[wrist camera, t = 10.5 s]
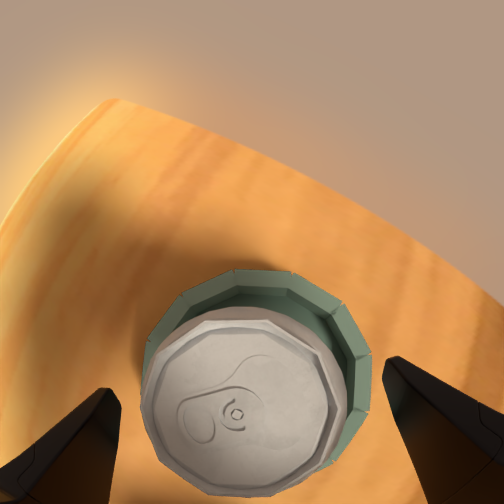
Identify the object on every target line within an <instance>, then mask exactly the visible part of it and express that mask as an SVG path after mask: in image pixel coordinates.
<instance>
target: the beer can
mask: <svg viewBox="0 0 504 504" xmlns="http://www.w3.org/2000/svg"><path fill="white" fill-rule="evenodd" d="M140 410H141V413H142V417H143V421H144V426H145V429H146V431H147V433H148V436H149V438H150V440H151V442H152V444H153V447H154V449H155V452H156V454H157V457H158V459H159V461H160V462H161V463H163V464H164V465H165V466H167V467H168V468H169V469H171V470H172V471H173V472H175V473H176V474H178V475H179V476H180V477H182V478H183V479H184V480H186V481H187V482H189V483H191V484H192V485H194V486H195V487H197V488H198V489H200V490H201V491H203V492H204V493H206V494H208V495H214V496H230V497H245V498H251V497H271V496H273V495H275V494H276V493H279V492H281V491H284V490H286V489H288V488H291V487H293V486H295V485H297V484H300V483H301V482H303V481H304V480H305V479H307V478H308V477H309V476H311V475H312V474H313V473H314V472H315V471H317V470H318V469H319V468H320V467H321V466H322V465H323V464H324V463H325V462H326V461H327V460H328V458H329V457H330V455H331V454H332V452H333V451H334V449H335V448H336V446H337V444H338V442H339V439H340V436H341V433H342V431H343V428H344V425H345V421H346V417H347V390H346V386H345V382H344V378H343V374H342V371H341V369H340V367H339V365H338V363H337V361H336V359H335V358H334V356H333V354H332V352H331V351H330V350H329V348H328V347H327V346H326V345H325V344H324V343H323V342H322V341H321V339H320V338H319V337H318V336H317V335H316V334H315V333H314V332H313V331H311V330H310V329H309V328H308V327H306V326H304V325H302V324H301V323H299V322H297V321H295V320H294V319H292V318H290V317H289V316H287V315H284V314H281V313H278V312H274V311H271V310H268V309H264V308H257V307H228V308H223V309H219V310H214V311H209V312H206V313H204V314H202V315H200V316H198V317H195V318H193V319H191V320H189V321H187V322H185V323H184V324H182V325H181V326H180V327H179V328H177V329H176V330H175V331H173V332H172V333H171V334H170V335H169V336H168V337H167V338H166V339H165V340H164V341H163V342H162V343H161V345H160V346H159V347H158V349H157V350H156V352H155V353H154V355H153V357H152V358H151V360H150V363H149V366H148V369H147V372H146V375H145V378H144V381H143V385H142V391H141V404H140Z"/></svg>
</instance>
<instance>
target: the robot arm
mask: <svg viewBox="0 0 504 504" xmlns="http://www.w3.org/2000/svg"><path fill="white" fill-rule="evenodd" d="M382 382H383V385H384V388H385V391H386V394H387V398H388V401H389V404H390V407H391V411H392V414H393V417H394V420H395V422H396V425H397V427H398V429H399V432H400V434H401V436H402V439H403V441H404V443H405V446H406V448H407V451H408V453H409V455H410V458H411V460H412V463H413V465H414V468H415V470H416V473H417V475H418V478H419V481H420V483H421V486H422V488H423V491H424V494H425V497H426V499H427V502H428V504H504V414H502V413H500V412H497V411H495V410H494V409H492V408H490V407H488V406H486V405H484V404H482V403H481V402H478V401H477V400H475V399H473V398H471V397H470V396H468V395H466V394H464V393H463V392H461V391H459V390H457V389H456V388H454V387H452V386H450V385H448V384H447V383H445V382H443V381H441V380H440V379H438V378H436V377H435V376H433V375H431V374H429V373H428V372H426V371H424V370H422V369H421V368H419V367H417V366H415V365H414V364H412V363H410V362H409V361H407V360H405V359H403V358H402V357H400V356H394V357H391V358H388V359H387V360H386V362H385V366H384V370H383V374H382ZM121 410H122V408H121V404H120V402H119V400H118V398H117V397H116V395H115V394H114V392H113V390H112V389H110V388H99V389H97V390H96V391H95V392H94V393H93V394H92V395H90V396H89V397H88V398H87V399H86V400H85V401H83V402H82V403H81V404H80V405H79V406H77V407H76V408H75V409H74V410H73V411H72V412H70V413H69V414H68V415H67V416H66V417H64V418H63V419H62V420H61V421H60V422H59V423H57V424H56V425H55V426H54V427H53V428H51V429H50V430H49V431H48V432H47V433H46V434H44V435H43V436H42V437H41V438H40V439H38V440H37V441H36V442H35V443H34V444H32V445H31V446H30V447H29V448H28V449H26V450H25V451H24V452H23V453H21V454H20V455H19V456H17V457H16V458H15V459H13V460H12V461H10V462H9V463H7V464H6V465H4V466H3V467H1V468H0V504H109V497H110V490H111V483H112V477H113V471H114V465H115V460H116V454H117V449H118V442H119V430H120V420H121Z"/></svg>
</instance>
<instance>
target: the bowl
mask: <svg viewBox="0 0 504 504" xmlns="http://www.w3.org/2000/svg"><path fill="white" fill-rule="evenodd" d="M182 295H183V297H182V296H180V295H179V296H178V297H177V298H176V300H175V301H174V302H173V304H172V305H171V306H170V308H169V309H168V310H167V312H166V313H165V315H164V316H163V317H162V319H161V320H160V321H159V323H158V324H157V325H156V327H155V328H154V330H153V331H152V332H151V334H150V335H149V336H148V338H147V339H148V340H149V341H151V342H148V341H146V345H145V353H144V362H143V371H142V381H141V391H142V385H143V381H144V378H145V375H146V372H147V369H148V366H149V363H150V360H151V358H152V357H153V355H154V353H155V352H156V350H157V349H158V347H159V346H160V345H161V343H162V342H163V341H164V340H165V339H166V338H167V337H168V336H169V335H170V334H171V333H172V332H173V331H175V330H176V329H177V328H179V327H180V326H181V325H182V324H184V323H185V322H187V321H189V320H191V319H193V318H195V317H198V316H200V315H202V314H204V313H206V312H209V311H214V310H219V309H223V308H228V307H257V308H264V309H268V310H271V311H274V312H278V313H281V314H284V315H287V316H289V317H290V318H292V319H294V320H295V321H297V322H299V323H301V324H302V325H304V326H306V327H308V328H309V329H310V330H311V331H313V332H314V333H315V334H316V335H317V336H318V337H319V338H320V339H321V341H322V342H323V343H324V344H325V345H326V346H327V347H328V348H329V350H330V351H331V352H332V354H333V356H334V358H335V359H336V361H337V363H338V365H339V367H340V369H341V371H342V374H343V378H344V382H345V386H346V390H347V417H346V421H345V425H344V428H343V431H342V433H341V436H340V439H339V442H338V444H337V446H336V448H335V449H334V451H333V452H332V454H331V455H330V457H329V458H328V460H327V461H326V462H325V463H324V464H323V465H322V466H321V467H320V468H319V469H318V470H317V471H319V470H321V469H323V468H325V467H327V466H329V465H331V464H333V462H332V460H334V461H336V460H337V459H338V458H339V456H340V455H341V454H342V452H343V451H344V450H345V448H346V447H347V445H348V444H349V443H350V441H351V440H352V438H353V437H354V435H355V434H356V432H357V431H358V429H359V428H360V426H361V425H362V423H363V422H364V420H365V419H366V417H367V415H368V413H366V412H364V411H370V397H371V377H372V355H368V354H369V353H371V350H370V349H369V347H368V345H367V343H366V341H365V339H364V338H363V336H362V334H361V332H360V330H359V329H358V327H357V325H356V323H355V321H354V320H353V318H352V316H351V314H350V313H349V311H348V309H347V307H346V306H345V304H343V305H341V303H342V301H341V300H339V299H337V298H336V297H334V296H332V295H331V294H329V293H327V292H326V291H324V290H322V289H321V288H319V287H317V286H316V285H314V284H312V283H311V282H309V281H307V280H306V279H304V278H302V277H301V276H299V275H297V274H296V273H293V275H292V276H291V272H289V271H267V270H247V269H235V273H233V271H232V270H230V271H228V272H225V273H223V274H221V275H219V276H217V277H215V278H212V279H210V280H208V281H206V282H204V283H202V284H200V285H197V286H195V287H193V288H191V289H189V290H187V291H184V292H182ZM340 305H341V306H340ZM140 395H141V392H140ZM331 459H332V460H331ZM317 471H315V472H317ZM315 472H314V473H315Z"/></svg>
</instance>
